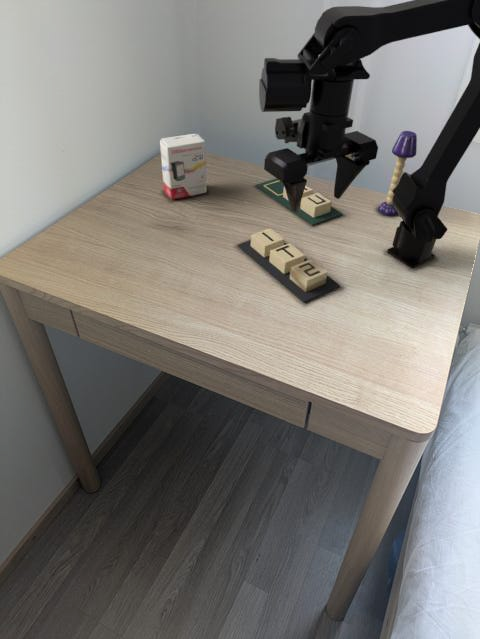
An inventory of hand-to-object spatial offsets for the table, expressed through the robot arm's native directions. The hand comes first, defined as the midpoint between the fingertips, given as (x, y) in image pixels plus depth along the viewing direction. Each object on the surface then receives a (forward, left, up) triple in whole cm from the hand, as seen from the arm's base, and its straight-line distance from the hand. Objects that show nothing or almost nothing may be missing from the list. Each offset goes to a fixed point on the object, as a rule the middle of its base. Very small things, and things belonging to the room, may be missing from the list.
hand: (315, 204), depth 83 cm
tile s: (-5, +4, -11) cm, 13 cm away
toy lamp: (+5, -27, -12) cm, 30 cm away
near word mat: (+1, +4, -12) cm, 13 cm away
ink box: (+35, +6, -12) cm, 38 cm away
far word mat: (+19, -13, -12) cm, 26 cm away
